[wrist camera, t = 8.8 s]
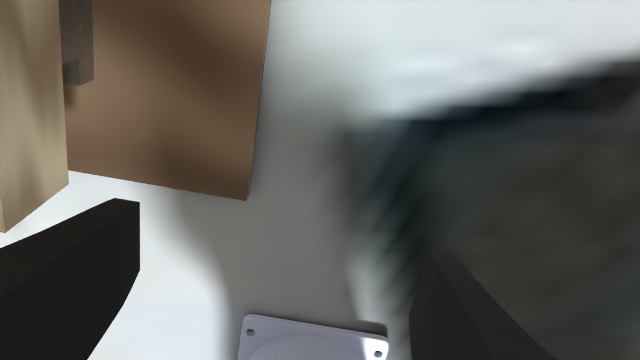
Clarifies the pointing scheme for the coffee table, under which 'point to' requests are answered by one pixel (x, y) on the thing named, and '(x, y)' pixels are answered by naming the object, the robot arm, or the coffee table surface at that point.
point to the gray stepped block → (76, 41)
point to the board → (171, 94)
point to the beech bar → (30, 108)
